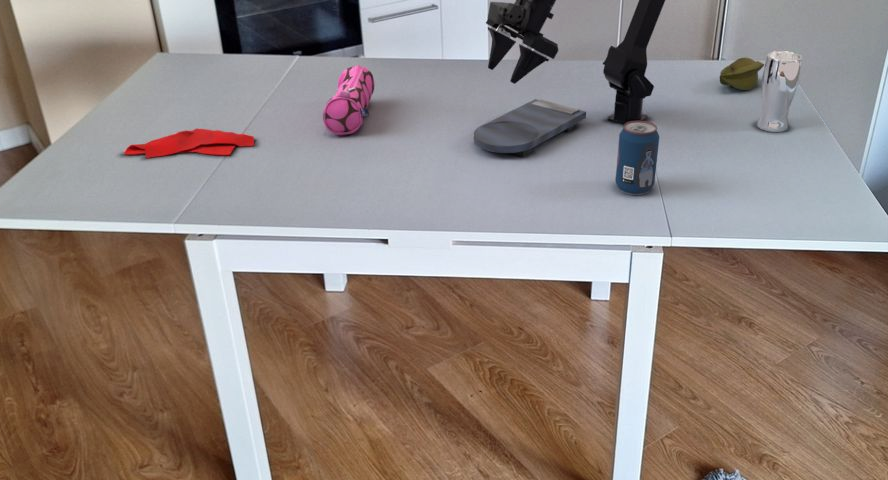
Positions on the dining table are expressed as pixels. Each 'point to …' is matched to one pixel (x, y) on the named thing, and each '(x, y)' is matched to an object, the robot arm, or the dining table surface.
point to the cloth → (193, 143)
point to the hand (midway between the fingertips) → (501, 75)
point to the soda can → (637, 157)
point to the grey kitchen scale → (526, 127)
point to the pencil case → (349, 101)
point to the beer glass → (778, 89)
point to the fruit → (741, 74)
